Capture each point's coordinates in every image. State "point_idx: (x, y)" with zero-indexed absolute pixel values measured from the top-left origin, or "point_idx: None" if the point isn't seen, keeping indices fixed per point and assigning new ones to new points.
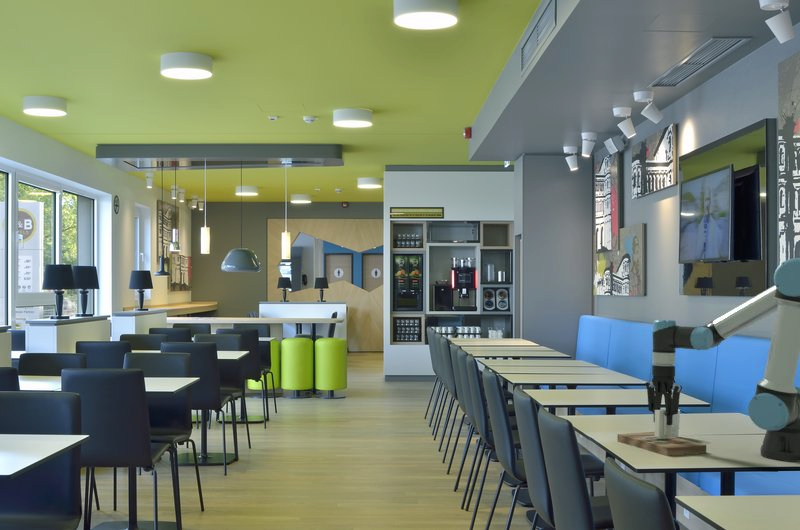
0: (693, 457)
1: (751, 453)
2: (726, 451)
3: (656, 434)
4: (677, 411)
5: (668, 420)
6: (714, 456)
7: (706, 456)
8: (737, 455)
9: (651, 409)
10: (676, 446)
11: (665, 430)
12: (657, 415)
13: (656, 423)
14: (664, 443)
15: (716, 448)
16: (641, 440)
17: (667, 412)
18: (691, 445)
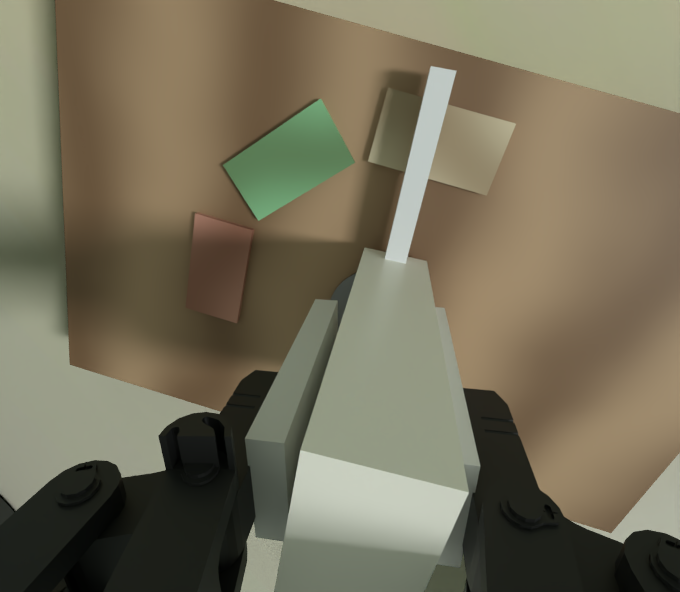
0: (12, 131)
1: (36, 492)
2: (107, 455)
3: (400, 267)
4: (59, 584)
5: (245, 408)
6: (12, 286)
7: (22, 245)
8: (10, 408)
9: (627, 566)
10: (94, 119)
11: (306, 319)
12: (376, 387)
13: (401, 319)
14: (242, 151)
15: None
16: (477, 74)
17: (189, 496)
18: (94, 275)
